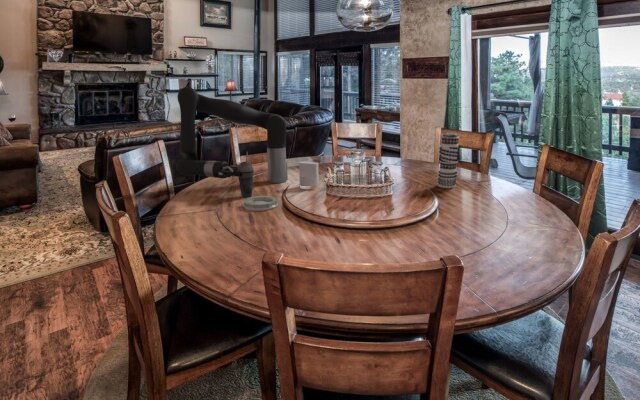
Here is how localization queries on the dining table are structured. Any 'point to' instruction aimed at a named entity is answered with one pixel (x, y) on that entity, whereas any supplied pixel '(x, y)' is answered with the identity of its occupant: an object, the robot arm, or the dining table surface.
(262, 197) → the rimmed coaster
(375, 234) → the dining table surface
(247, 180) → the beverage cup
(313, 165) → the grey upright block
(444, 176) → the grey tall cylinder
